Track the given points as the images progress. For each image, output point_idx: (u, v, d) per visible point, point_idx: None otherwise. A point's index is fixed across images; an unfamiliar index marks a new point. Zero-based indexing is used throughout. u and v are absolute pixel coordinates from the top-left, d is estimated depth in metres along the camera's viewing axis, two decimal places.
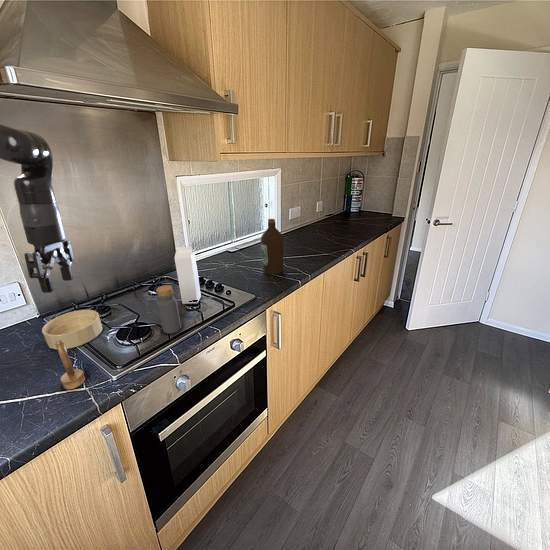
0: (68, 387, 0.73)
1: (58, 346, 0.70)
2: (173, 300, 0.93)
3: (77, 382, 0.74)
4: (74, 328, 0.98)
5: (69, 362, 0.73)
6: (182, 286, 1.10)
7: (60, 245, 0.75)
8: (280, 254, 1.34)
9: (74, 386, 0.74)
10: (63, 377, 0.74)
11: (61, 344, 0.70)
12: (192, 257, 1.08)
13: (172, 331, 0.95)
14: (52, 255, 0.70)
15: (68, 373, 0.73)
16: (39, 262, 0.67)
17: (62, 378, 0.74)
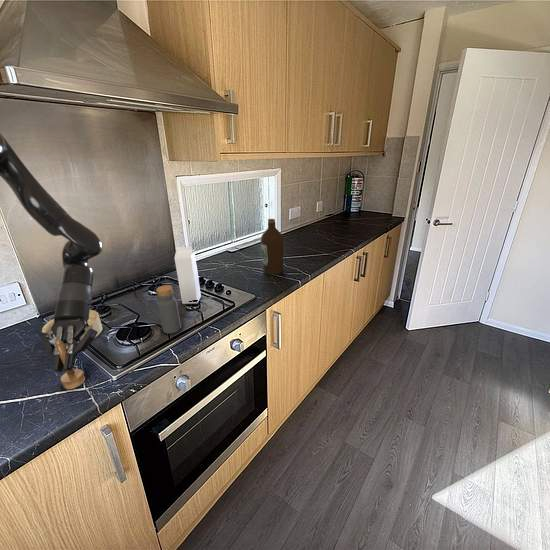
0: (68, 387, 0.73)
1: (58, 346, 0.70)
2: (173, 300, 0.93)
3: (77, 382, 0.74)
4: None
5: None
6: (182, 286, 1.10)
7: None
8: (280, 254, 1.34)
9: (74, 386, 0.74)
10: (63, 377, 0.74)
11: (61, 344, 0.70)
12: (192, 257, 1.08)
13: (172, 331, 0.95)
14: None
15: (68, 373, 0.73)
16: None
17: (62, 378, 0.74)
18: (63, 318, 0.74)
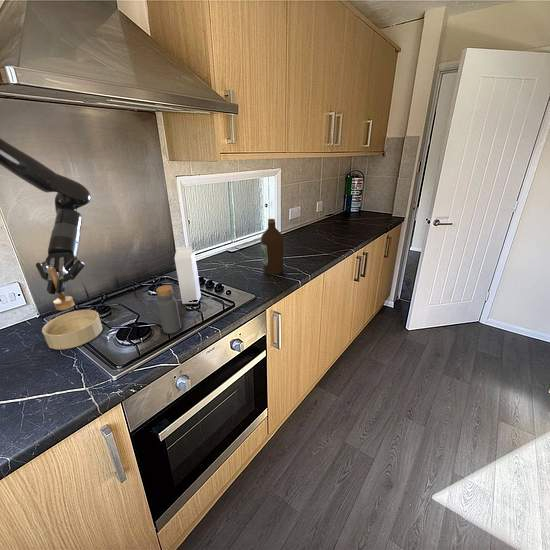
0: (60, 308, 0.87)
1: (51, 271, 0.84)
2: (173, 300, 0.93)
3: (68, 304, 0.88)
4: (74, 328, 0.98)
5: None
6: (182, 286, 1.10)
7: None
8: (280, 254, 1.34)
9: (65, 308, 0.88)
10: (56, 300, 0.88)
11: (53, 270, 0.85)
12: (192, 257, 1.08)
13: (172, 331, 0.95)
14: None
15: (60, 297, 0.88)
16: None
17: (55, 301, 0.88)
18: (55, 252, 0.88)
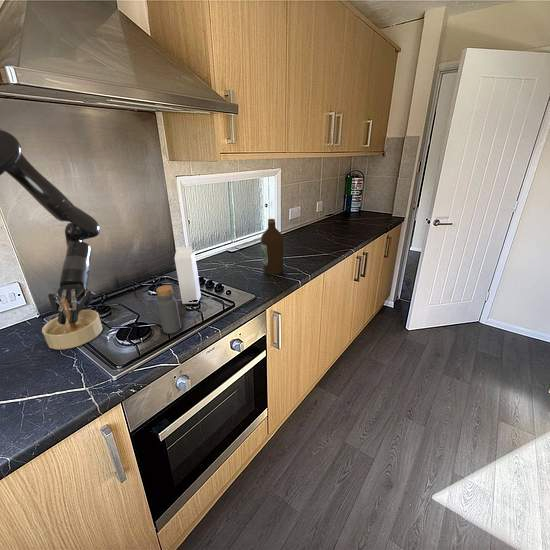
0: None
1: (63, 303, 0.89)
2: (173, 300, 0.93)
3: None
4: None
5: None
6: (182, 286, 1.10)
7: None
8: (280, 254, 1.34)
9: None
10: (67, 329, 0.93)
11: (66, 301, 0.90)
12: (192, 257, 1.08)
13: (172, 331, 0.95)
14: None
15: (71, 326, 0.93)
16: None
17: (66, 330, 0.93)
18: (67, 283, 0.93)
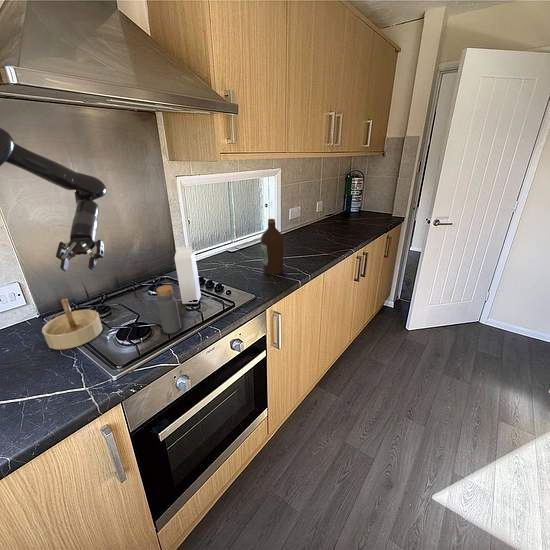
0: None
1: (63, 303, 0.89)
2: (173, 300, 0.93)
3: None
4: None
5: (72, 317, 0.92)
6: (182, 286, 1.10)
7: None
8: (280, 254, 1.34)
9: None
10: (67, 329, 0.93)
11: (66, 301, 0.90)
12: (192, 257, 1.08)
13: (172, 331, 0.95)
14: None
15: (71, 326, 0.93)
16: None
17: (66, 330, 0.93)
18: (76, 237, 1.01)
